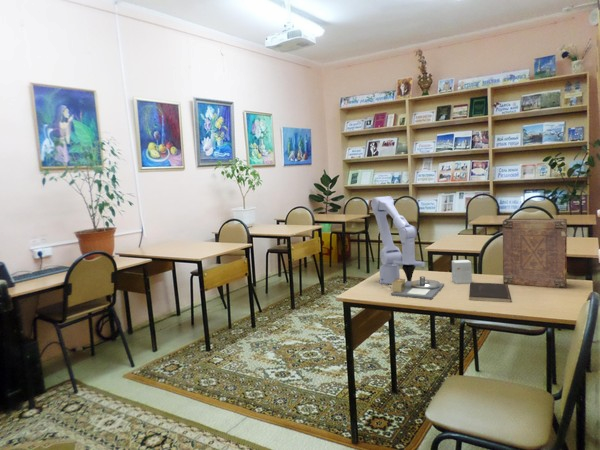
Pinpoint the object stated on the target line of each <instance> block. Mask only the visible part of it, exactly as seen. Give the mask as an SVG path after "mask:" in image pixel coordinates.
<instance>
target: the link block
mask: <svg viewBox="0 0 600 450" xmlns="http://www.w3.org/2000/svg"><path fill="white" fill-rule="evenodd" d="M405 282H406V279H405V278H400V279H398V278H396V279H395V280H394V281H392V284H391V285H392V292H396V293H402V292H403V291H404V290H405Z"/></svg>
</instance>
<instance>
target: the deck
mask: <svg viewBox="0 0 600 450" xmlns="http://www.w3.org/2000/svg"><path fill="white" fill-rule="evenodd" d="M413 281H414V280H411V281H407V280H405V290H404V291H403V292H402V293H396V292H393V291H392V292H391V294H390V295H391V296H392V297H393V296H395V297H404V298H414V299H422V300H424V299H425V300H433V298H434V297H435V296H437V294H438V293H439V292H441V290H442V289H443V288H444V287H445V283H443V282H441V283H440V287H438V288H435V289H430V292H429V293H428V294H427V295H426V296H421V295H410V294H407V293H408V292H409V291H410V290H411V289H412V288H414V287H412V285H411V283H412V282H413Z"/></svg>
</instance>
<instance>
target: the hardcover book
mask: <svg viewBox="0 0 600 450" xmlns="http://www.w3.org/2000/svg"><path fill="white" fill-rule="evenodd" d="M468 292H469V293H468V297H469V300H470V301H482V302H483V301H484V302H485V301H487V302H499V303H500V302H504V303H512V297H511V294H510V293H511V292H510V288H509V284H504V283H500V282H499V283H498V282H497V283H496V282H495V283H493V282H492V283H491V282H473V281H472V282H470V283H469V291H468Z"/></svg>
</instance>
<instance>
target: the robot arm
mask: <svg viewBox="0 0 600 450" xmlns="http://www.w3.org/2000/svg"><path fill="white" fill-rule="evenodd" d="M370 205H371V209H372V213H373V215H374V216H375V220H376V223H377V228H378V231H379V234H380V235H379V236H380V240H381V242H382V246H383V248H382V249H381V250H380V252H379V253H380V254H379V255H380V261H381V265H380V266H379V284H385V285H386V284H387V285H392V281H394V280H395V279H396V278H398V279H401V278H400V273H401V272H400V266H402V267H401V268H402V270H403V272H404V273H405V277H406V281H413V280H412V278H413V274H414V272H415V269H416V267H423V268H424V267H426V262H425V261H419V260H416V251H415V249H416V248H415V245H416V244H415V243H416V242H415V239H416V238H417V236H418V231H417V230H418V229H416V227H415V226H414V225H412V224H409V222H408V221H407V219H406V218H405V217H404V215H402V214H401V215H400V214H399V211H398V210H397V207H395V201H394V199H393V197H392V196H390V195H387V196H377V197H376V196H375V197H372V199H371V204H370ZM388 214H389V216H390V217H391V218H392V219H393V221H392V222H393V225H394V226H395V228H396V229H397V231H398V236H399V238H400V244H401V248H402V249H401V250H402V252H401V250H400V247H398V246H397V245H395V244H394V240H393V237H392V234H391V230H390V225H389V221H388V219H387V215H388Z"/></svg>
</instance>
